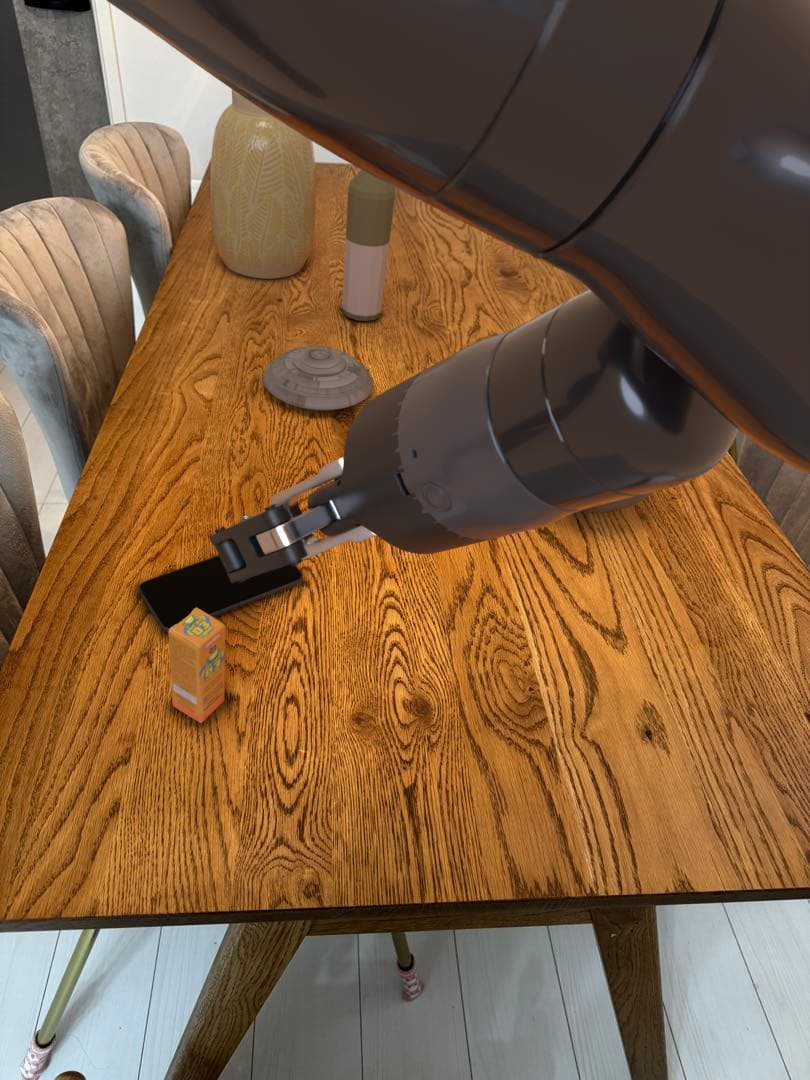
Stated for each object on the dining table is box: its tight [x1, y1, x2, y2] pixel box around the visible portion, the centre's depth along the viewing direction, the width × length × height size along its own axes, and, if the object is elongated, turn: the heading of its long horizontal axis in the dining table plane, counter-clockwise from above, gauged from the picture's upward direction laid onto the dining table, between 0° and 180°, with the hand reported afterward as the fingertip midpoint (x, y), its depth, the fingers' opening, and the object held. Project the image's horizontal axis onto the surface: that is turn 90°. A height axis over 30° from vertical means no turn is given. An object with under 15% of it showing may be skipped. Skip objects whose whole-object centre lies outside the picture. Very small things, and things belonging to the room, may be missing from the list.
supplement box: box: [167, 608, 226, 724], centre depth 67 cm, size 3×3×10 cm
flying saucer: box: [262, 345, 374, 411], centre depth 110 cm, size 15×15×6 cm
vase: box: [209, 89, 317, 280], centre depth 133 cm, size 17×17×27 cm
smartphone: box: [138, 554, 304, 633], centre depth 81 cm, size 7×1×15 cm
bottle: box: [341, 169, 396, 322], centre depth 121 cm, size 7×7×30 cm
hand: (291, 520), depth 46 cm, fingers open, 8 cm apart
